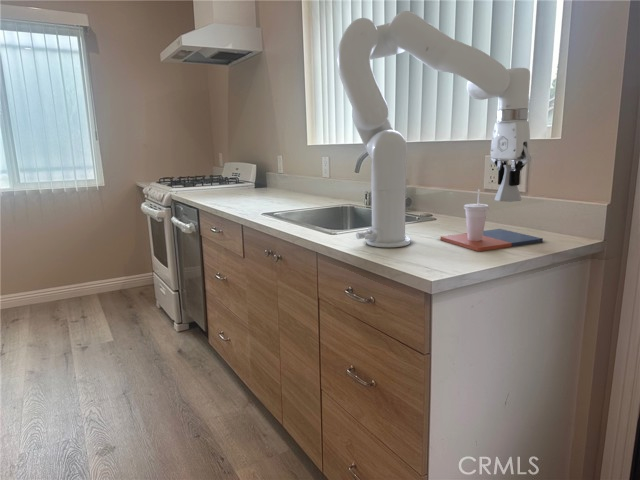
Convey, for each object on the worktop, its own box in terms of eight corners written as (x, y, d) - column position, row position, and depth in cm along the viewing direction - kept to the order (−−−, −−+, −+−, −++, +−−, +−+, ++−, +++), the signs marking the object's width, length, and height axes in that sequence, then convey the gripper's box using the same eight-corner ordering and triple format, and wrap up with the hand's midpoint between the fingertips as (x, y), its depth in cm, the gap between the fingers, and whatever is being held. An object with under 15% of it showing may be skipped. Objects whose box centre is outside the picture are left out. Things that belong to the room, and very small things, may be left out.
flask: (524, 202, 118) (527, 165, 116) (496, 202, 119) (498, 166, 117) (518, 198, 125) (520, 163, 123) (491, 199, 126) (493, 164, 124)
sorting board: (478, 251, 111) (478, 247, 111) (440, 239, 126) (440, 236, 126) (542, 241, 119) (542, 238, 119) (499, 231, 134) (499, 228, 133)
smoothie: (484, 242, 116) (486, 190, 113) (460, 240, 120) (461, 190, 116) (489, 238, 121) (491, 188, 118) (465, 236, 125) (467, 187, 122)
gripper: (479, 119, 123) (477, 183, 127) (525, 115, 108) (521, 188, 112) (500, 118, 126) (497, 182, 130) (548, 114, 111) (543, 186, 115)
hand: (508, 184), depth 121 cm, fingers closed on flask, 3 cm apart
